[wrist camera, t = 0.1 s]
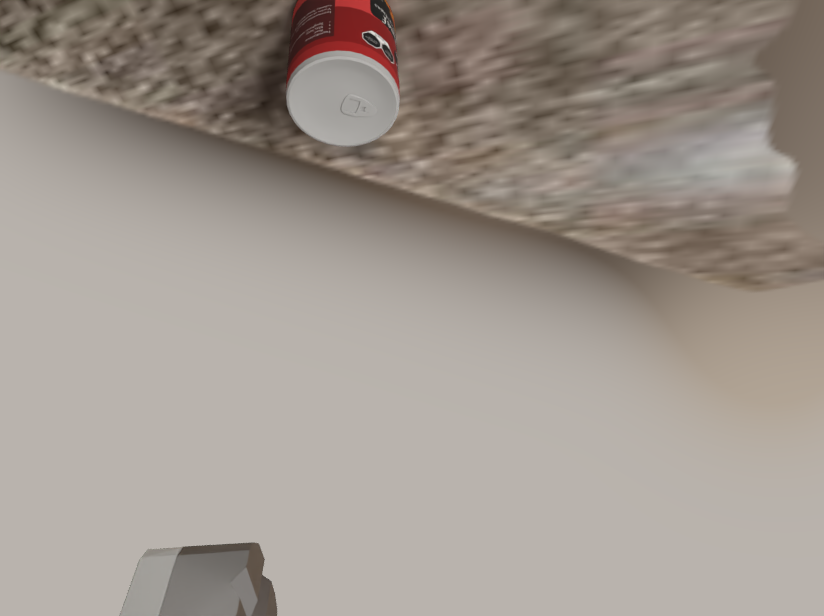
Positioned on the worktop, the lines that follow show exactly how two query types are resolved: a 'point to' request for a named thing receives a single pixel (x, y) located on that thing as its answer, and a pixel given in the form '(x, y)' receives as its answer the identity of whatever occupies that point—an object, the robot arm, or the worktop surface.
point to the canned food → (343, 70)
